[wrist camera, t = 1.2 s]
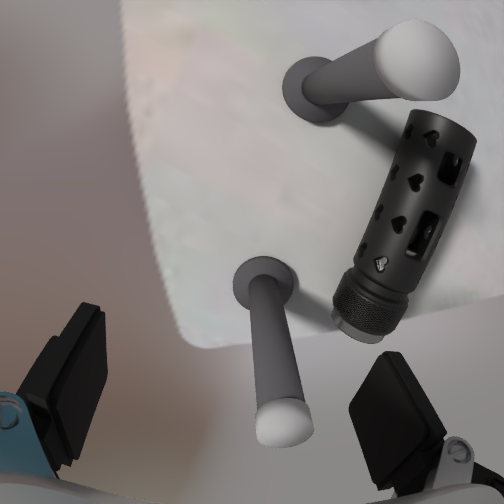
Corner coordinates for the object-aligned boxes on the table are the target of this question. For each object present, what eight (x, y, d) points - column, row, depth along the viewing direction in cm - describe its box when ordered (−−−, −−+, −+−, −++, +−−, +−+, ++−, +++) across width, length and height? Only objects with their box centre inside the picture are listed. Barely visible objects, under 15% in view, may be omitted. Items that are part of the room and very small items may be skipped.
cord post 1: (299, 262, 43) (353, 404, 21) (282, 311, 46) (314, 458, 24) (240, 250, 42) (245, 397, 20) (227, 302, 45) (224, 454, 23)
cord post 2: (354, 70, 33) (489, 35, 11) (338, 129, 36) (467, 157, 14) (291, 50, 32) (369, -35, 10) (275, 111, 35) (337, 101, 13)
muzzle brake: (445, 137, 37) (493, 148, 27) (371, 309, 47) (397, 351, 37) (392, 107, 35) (436, 108, 26) (317, 296, 45) (335, 341, 36)
